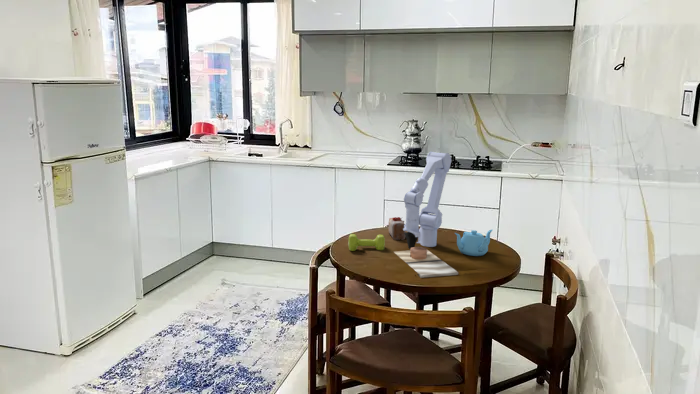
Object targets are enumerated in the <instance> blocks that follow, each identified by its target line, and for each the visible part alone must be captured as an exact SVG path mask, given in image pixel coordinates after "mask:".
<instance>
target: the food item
mask: <svg viewBox="0 0 700 394" xmlns="http://www.w3.org/2000/svg"><path fill="white" fill-rule="evenodd" d="M402 218H403V217H398V216H397V217H389V218H388V234H390V236H391V238H392V239H393V240H395V241H396V240H399V241H400V239H401V241H403V240H405V239H406V236H405V234H404V233H405V232H406V231H404V230H403V228H404V225H406V223H405V220H402Z"/></svg>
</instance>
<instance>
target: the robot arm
mask: <svg viewBox="0 0 700 394" xmlns="http://www.w3.org/2000/svg"><path fill="white" fill-rule="evenodd" d="M425 161H426V164H425V167H424V169H423V171H422V174H421V176H420V177H418V178H417V179H416V180H415V181H414V184H413V185H412V187H411V188H410V191H408V192H406V193H405V194H404V198H403V202H404V205H405V206H404V207H405V208H406V210H405V211H406V213H405V225H404V228H403V230H404V231H405V233H404V234H405V239H406V241H407V242H406V243H407V247H408V249H409V250H410V249H411V248H412V247H416V244H420V245H421V247H422V246H423V247H425V248H426V247H427V248H433V247H436V246H437V238H438V229H440V227H441V226H442V223H443V220H442V219H443V218H442V217H443V213H442V212H441V210H440V209H439V208H440V207H439V205H440V202H441V198H442V194H443V190H444V186H445V182H446V177H447V174H448V173H449V172H450V168H451V166H452V165H451V163H452V157H451V154H450V153H449V152H438V151H437V152H435V151H429V152H428V153H427V155H426V158H425ZM433 174H434V175H433ZM432 175H433V180H432V184H431V187H430V193H429V197H428V200H427V205H426V206H425V207H423V208H422V209H421V210H420V208H421V207H420V206H421V205H422V203H423V200H424V197H425V196H424V194H425V192H426V190H427V188H428V186H429V180H430V178H431V177H432Z"/></svg>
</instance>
